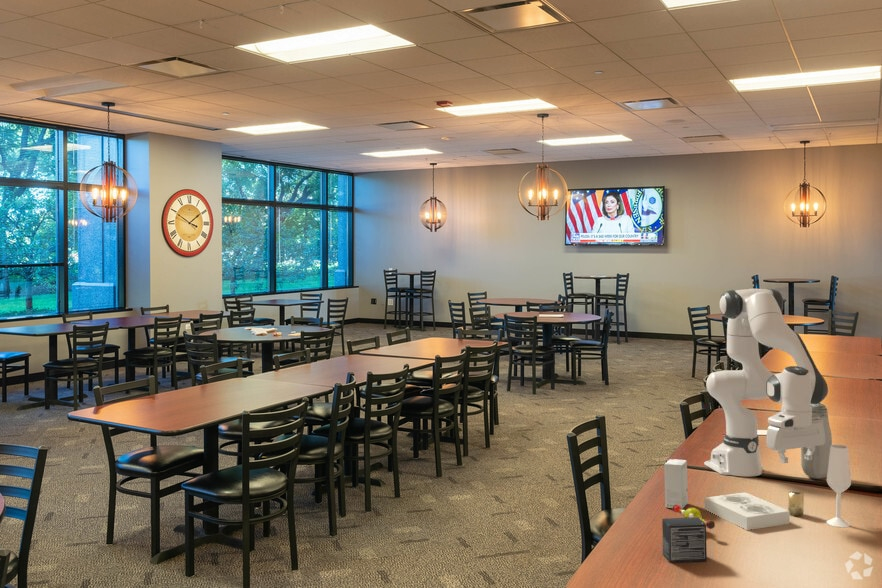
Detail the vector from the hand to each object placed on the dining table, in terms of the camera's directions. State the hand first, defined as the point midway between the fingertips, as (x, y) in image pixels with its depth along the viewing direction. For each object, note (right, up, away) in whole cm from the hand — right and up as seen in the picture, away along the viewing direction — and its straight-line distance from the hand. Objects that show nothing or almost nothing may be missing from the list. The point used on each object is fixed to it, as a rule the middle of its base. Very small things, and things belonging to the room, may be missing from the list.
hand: (796, 461), depth 244 cm
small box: (-46, -20, -32) cm, 59 cm away
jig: (-16, -18, 0) cm, 24 cm away
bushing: (0, -17, +1) cm, 17 cm away
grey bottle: (+26, -15, +40) cm, 49 cm away
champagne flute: (+9, -18, -8) cm, 21 cm away
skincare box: (-35, -18, +12) cm, 40 cm away
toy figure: (-37, -19, -11) cm, 43 cm away
